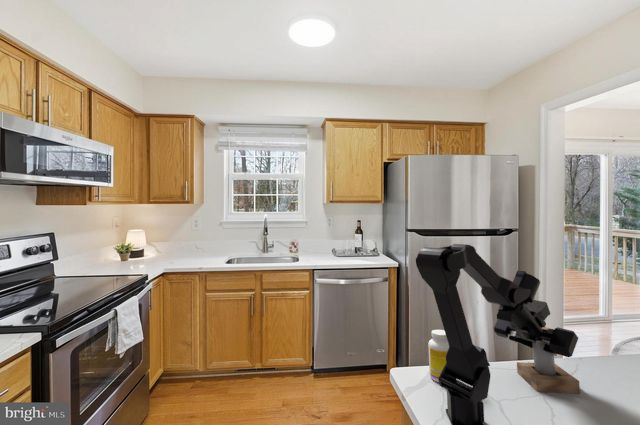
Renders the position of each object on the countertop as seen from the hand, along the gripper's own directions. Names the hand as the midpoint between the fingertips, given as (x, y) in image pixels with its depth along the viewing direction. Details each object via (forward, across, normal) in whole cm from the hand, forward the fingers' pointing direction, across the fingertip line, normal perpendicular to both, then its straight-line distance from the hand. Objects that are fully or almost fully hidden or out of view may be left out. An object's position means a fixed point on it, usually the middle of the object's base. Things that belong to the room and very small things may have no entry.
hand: (545, 351), depth 85 cm
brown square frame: (+4, 0, +7) cm, 8 cm away
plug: (+4, 0, +6) cm, 8 cm away
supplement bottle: (-11, +15, +22) cm, 29 cm away
